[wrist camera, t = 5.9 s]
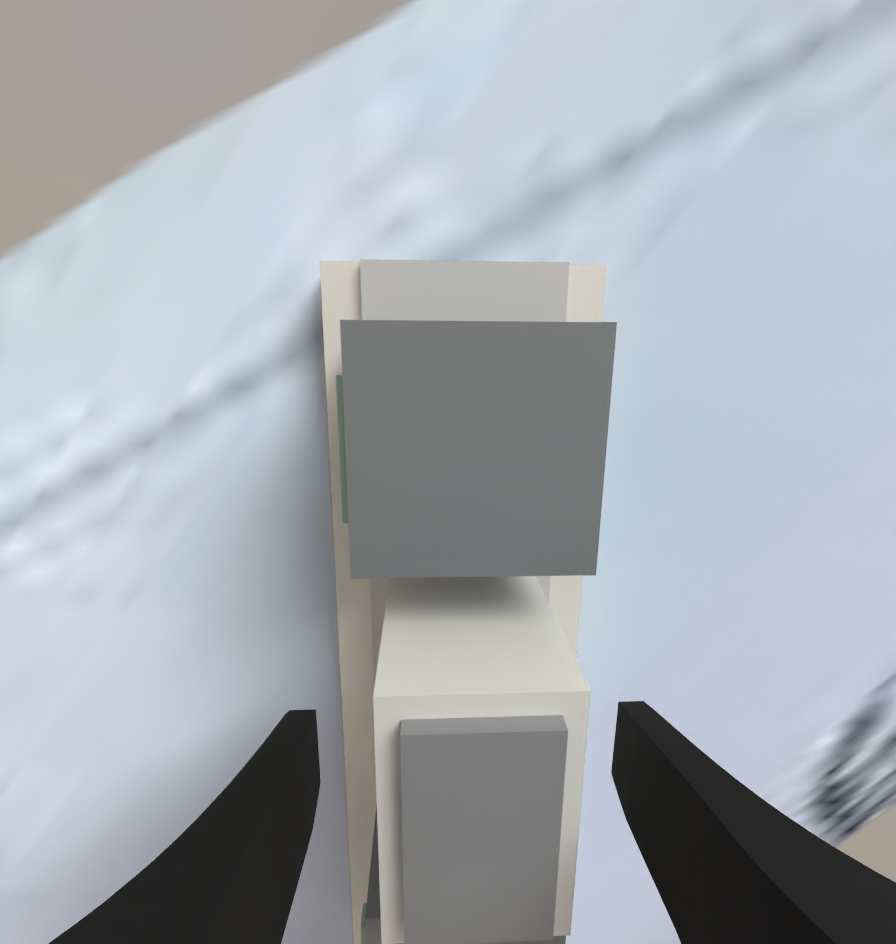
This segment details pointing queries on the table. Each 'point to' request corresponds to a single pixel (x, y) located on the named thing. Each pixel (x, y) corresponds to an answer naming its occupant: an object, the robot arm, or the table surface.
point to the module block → (476, 762)
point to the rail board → (455, 461)
